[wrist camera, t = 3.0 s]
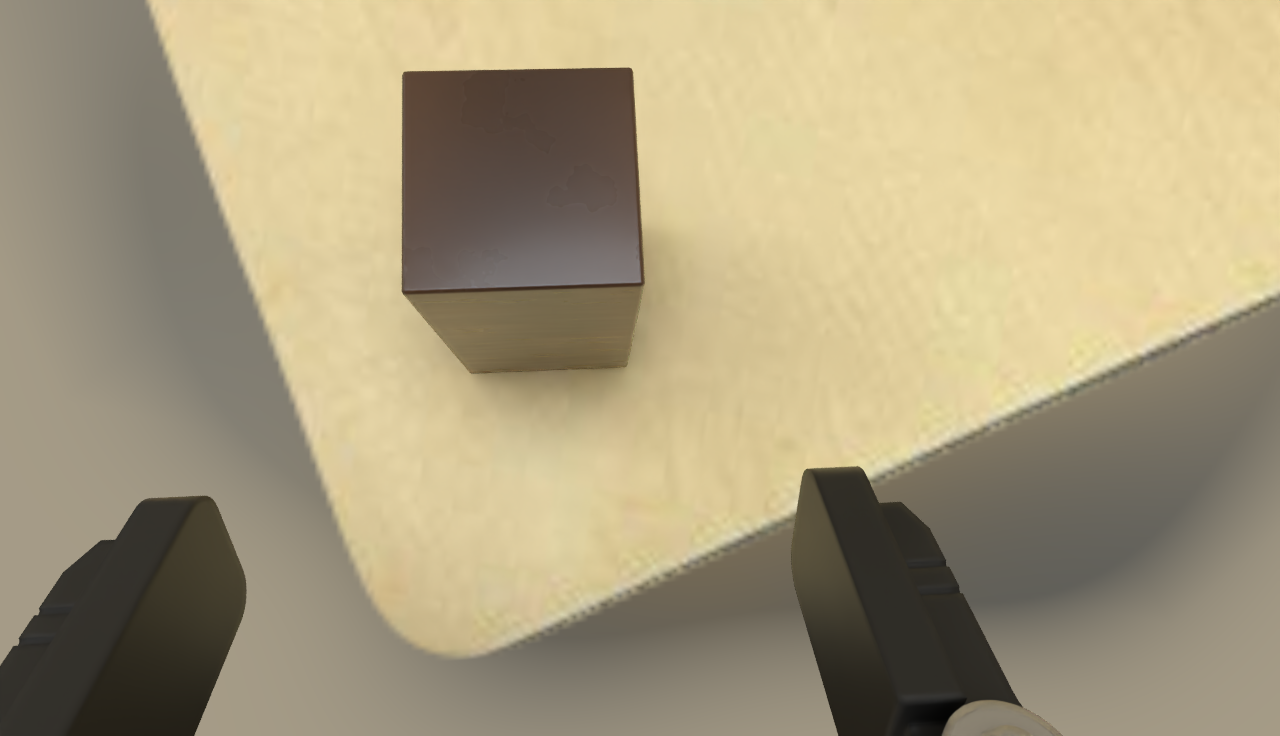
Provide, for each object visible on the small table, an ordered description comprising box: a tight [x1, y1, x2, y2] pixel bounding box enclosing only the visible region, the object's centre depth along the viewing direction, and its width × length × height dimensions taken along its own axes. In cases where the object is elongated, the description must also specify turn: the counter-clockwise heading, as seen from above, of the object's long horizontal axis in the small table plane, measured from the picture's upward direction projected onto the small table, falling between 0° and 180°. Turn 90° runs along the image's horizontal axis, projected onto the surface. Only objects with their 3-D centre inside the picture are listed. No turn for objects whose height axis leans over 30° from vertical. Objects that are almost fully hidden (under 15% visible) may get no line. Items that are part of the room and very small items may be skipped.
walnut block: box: [402, 68, 645, 373], centre depth 19 cm, size 4×4×8 cm
